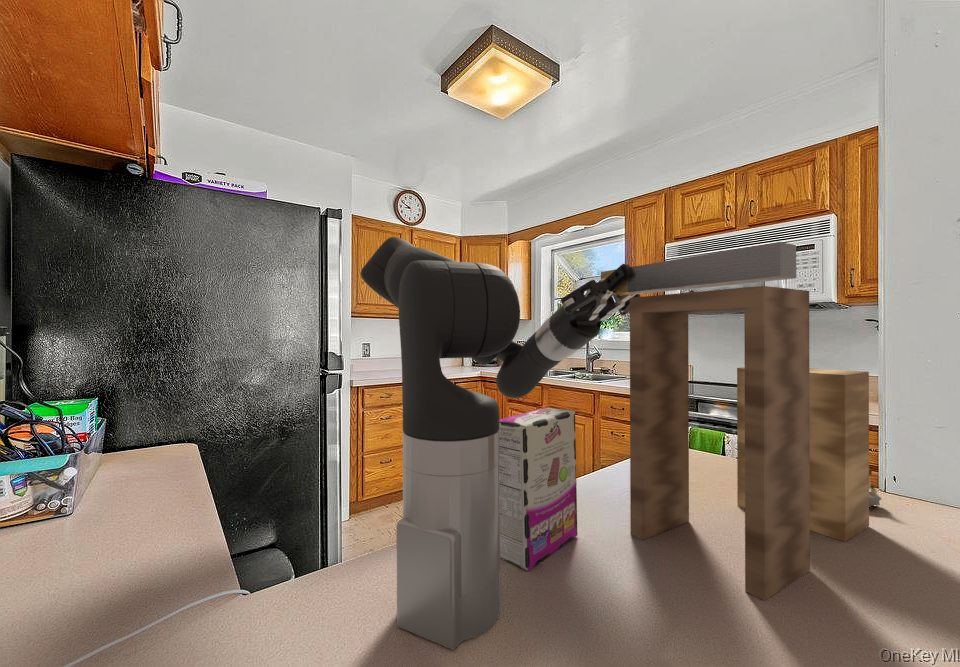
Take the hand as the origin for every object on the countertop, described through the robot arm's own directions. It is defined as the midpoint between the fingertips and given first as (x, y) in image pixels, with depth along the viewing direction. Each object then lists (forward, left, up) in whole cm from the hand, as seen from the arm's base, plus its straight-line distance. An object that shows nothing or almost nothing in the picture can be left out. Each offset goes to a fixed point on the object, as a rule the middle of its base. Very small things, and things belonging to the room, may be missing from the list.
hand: (638, 270), depth 60 cm
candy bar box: (-14, +10, -36) cm, 40 cm away
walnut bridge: (-5, -9, -35) cm, 37 cm away
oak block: (+12, -20, -35) cm, 42 cm away
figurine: (+21, -29, -36) cm, 50 cm away
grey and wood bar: (-3, -6, -3) cm, 7 cm away
